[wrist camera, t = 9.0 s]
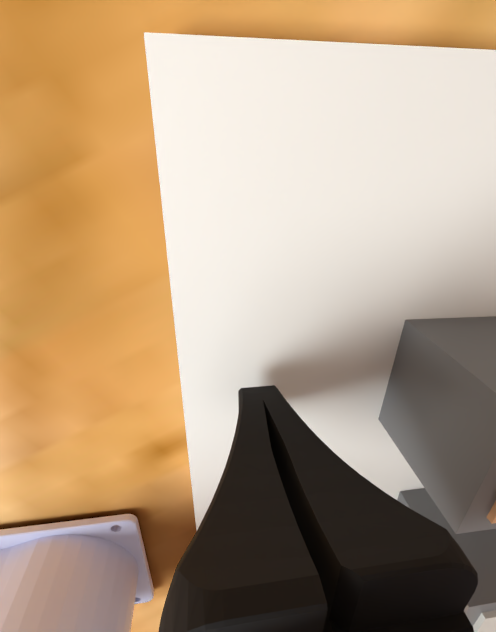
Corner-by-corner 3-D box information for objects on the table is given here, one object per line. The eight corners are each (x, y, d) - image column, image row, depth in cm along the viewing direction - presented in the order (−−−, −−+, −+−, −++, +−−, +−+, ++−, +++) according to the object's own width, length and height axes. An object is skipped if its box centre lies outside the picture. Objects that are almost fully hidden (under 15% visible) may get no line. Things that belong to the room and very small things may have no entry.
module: (378, 419, 15) (460, 540, 10) (405, 319, 13) (525, 417, 8) (459, 412, 15) (571, 525, 11) (498, 316, 13) (662, 405, 8)
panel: (203, 573, 20) (203, 596, 19) (150, 46, 9) (143, 32, 8) (466, 534, 23) (479, 552, 22) (698, 71, 11) (752, 62, 10)
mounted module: (382, 546, 20) (438, 667, 15) (399, 491, 17) (472, 613, 13) (443, 537, 20) (516, 651, 16) (468, 482, 18) (562, 597, 13)
